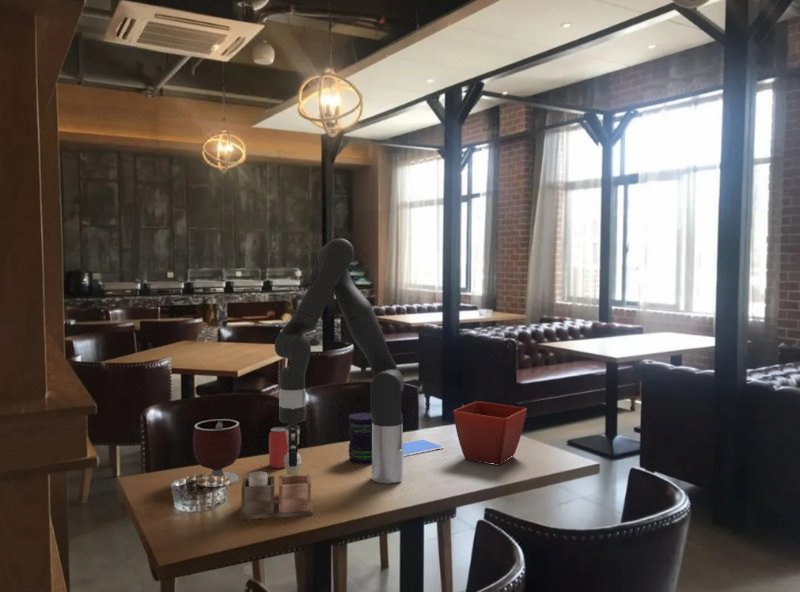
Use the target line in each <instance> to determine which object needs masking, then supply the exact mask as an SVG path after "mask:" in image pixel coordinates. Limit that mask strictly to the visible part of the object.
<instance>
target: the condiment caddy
mask: <svg viewBox="0 0 800 592" xmlns="http://www.w3.org/2000/svg"><path fill="white" fill-rule="evenodd" d="M268 475H269V474H268V472H266V471H261V470H260V471H253V472H250V473H249V474H248V477H243V478H242V483H241V505H240V512H239V520H240V521H241V520H242V521H243V520H244V519H245V520H257V519H259V518H261V519H274V518H275V517H276V518H286V517H287V518H288V517H289V518H290V517H305V516H306V517H307V515H308V516H313V515H314V513H313V512H314V511H313V502H312V489H311V488H312V487H311V486H312V484H311V476H310V474H309V473H308V474H298V475H287V474H286V475H278V487H279V488H278V500H275V476H274V475H272V476H270V475H269V476H268ZM259 520H260V519H259Z"/></svg>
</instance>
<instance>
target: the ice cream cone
mask: <svg viewBox="0 0 800 592" xmlns="http://www.w3.org/2000/svg"><path fill="white" fill-rule="evenodd" d="M291 448H296V447H295V446H290V449H291ZM288 450H289V448H288ZM284 458H285V459H284V462H285V463H284V465H285V471H286V475H300V474H299V473H300V470H301V467H302V466H301V465H303V464H302V458H301V454H300V453H299V452H298V453H297V466H293V467H290V466H289V452H287V454H286V455H285V456H284Z"/></svg>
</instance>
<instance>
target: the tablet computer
mask: <svg viewBox="0 0 800 592" xmlns="http://www.w3.org/2000/svg"><path fill="white" fill-rule="evenodd" d="M402 446H403V456H407V455H411V456H413V455H412V454H416V453H421V452H426V451H430V452H432V451H431V450H434V449H439V448H443V449H444V447H443V446H442V445H439V444H436V443H433V442H431V441H428V440H425V439H418V440H414V441H408V442H404V443H403V442H402ZM426 453H427V452H426ZM421 454H422V453H421ZM416 455H417V454H416ZM407 457H408V456H407Z"/></svg>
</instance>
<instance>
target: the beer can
mask: <svg viewBox="0 0 800 592" xmlns="http://www.w3.org/2000/svg"><path fill="white" fill-rule="evenodd" d="M288 448H289V447H288V445H287V435H286V426H276V427H272V428H271V429H270V432H269V435H268V465H269V466H270V467H271V468H273V469H283V468H285V465H284V463H285V462H284V459H285V458H284V456H285V455H286V454H287V452H288Z"/></svg>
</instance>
